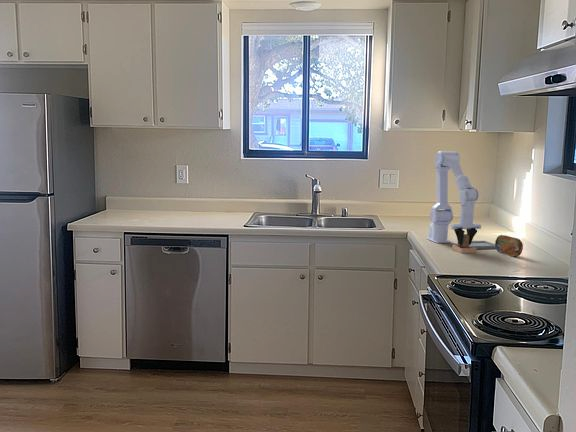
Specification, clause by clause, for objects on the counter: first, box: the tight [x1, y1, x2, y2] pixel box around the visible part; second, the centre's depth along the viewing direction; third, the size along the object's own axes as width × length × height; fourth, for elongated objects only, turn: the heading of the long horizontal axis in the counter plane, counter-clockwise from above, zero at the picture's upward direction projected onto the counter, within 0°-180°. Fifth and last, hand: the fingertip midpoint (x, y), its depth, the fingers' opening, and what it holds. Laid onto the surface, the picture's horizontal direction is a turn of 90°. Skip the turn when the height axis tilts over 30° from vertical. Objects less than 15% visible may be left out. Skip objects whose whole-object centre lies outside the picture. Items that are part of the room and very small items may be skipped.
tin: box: [494, 234, 524, 257], centre depth 256 cm, size 15×3×8 cm, turn 21°
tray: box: [457, 240, 496, 250], centre depth 272 cm, size 11×15×2 cm
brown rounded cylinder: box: [460, 233, 470, 248], centre depth 260 cm, size 4×4×8 cm
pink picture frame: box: [451, 244, 477, 254], centre depth 260 cm, size 8×8×2 cm
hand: (464, 244), depth 260 cm, fingers closed on brown rounded cylinder, 4 cm apart
